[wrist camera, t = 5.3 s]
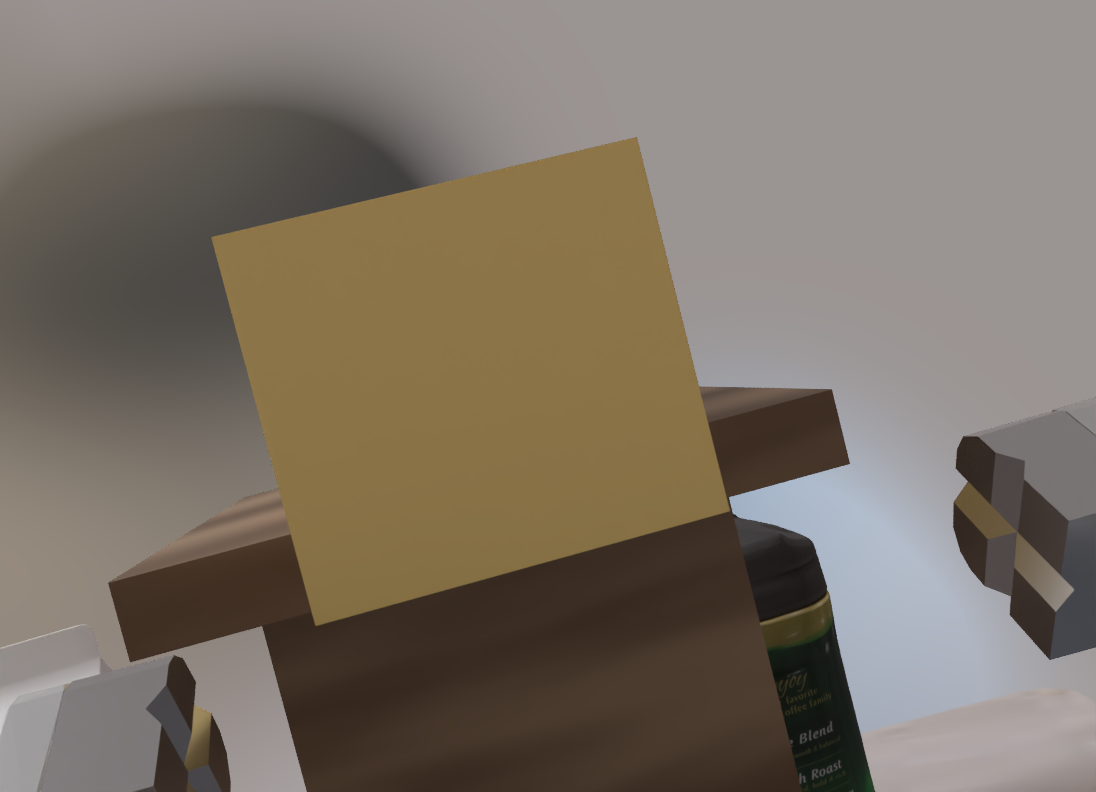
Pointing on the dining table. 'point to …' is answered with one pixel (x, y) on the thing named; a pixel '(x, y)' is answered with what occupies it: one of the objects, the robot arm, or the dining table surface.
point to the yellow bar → (471, 377)
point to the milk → (48, 663)
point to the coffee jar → (805, 658)
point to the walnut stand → (519, 644)
